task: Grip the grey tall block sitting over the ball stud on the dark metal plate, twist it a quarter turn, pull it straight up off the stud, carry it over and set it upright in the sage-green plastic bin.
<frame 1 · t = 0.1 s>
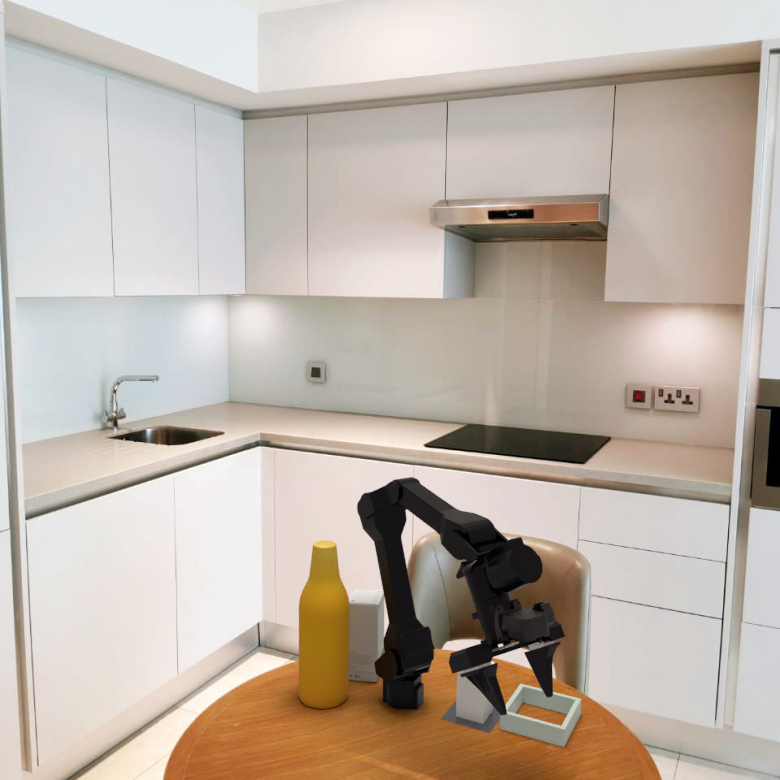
hand: (527, 705, 114), 15 cm above the table, tool tilted 35°, fingers open, 9 cm apart
bin: (540, 727, 135), on the table
skincare box: (364, 672, 154), on the table
beer bottle: (323, 697, 144), on the table
grey tall block: (474, 713, 138), point 1 cm above the table, touching stud plate
stud plate: (474, 718, 138), on the table
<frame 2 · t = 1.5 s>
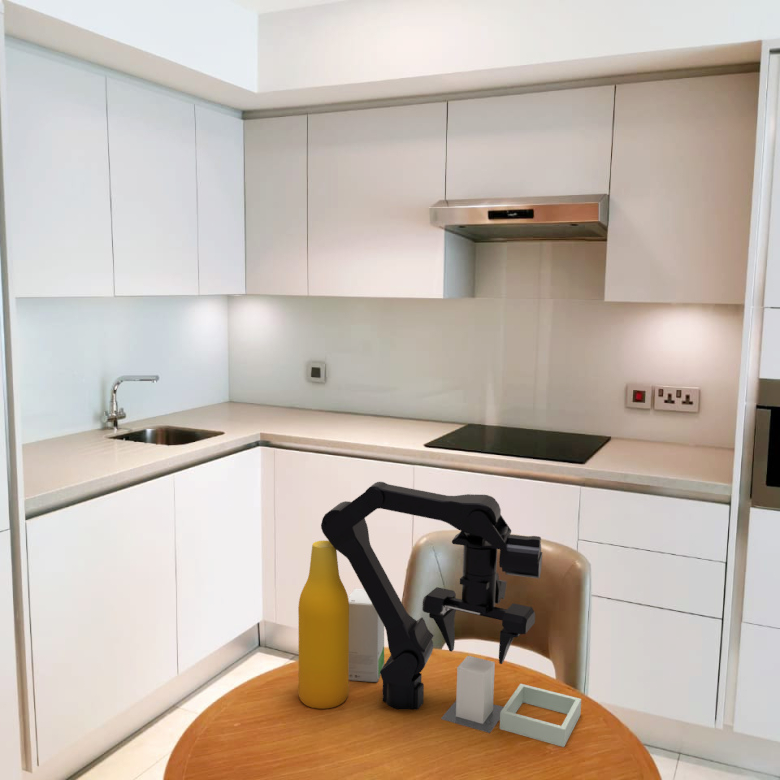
hand: (476, 656, 136), 11 cm above the table, tool pointing down, fingers open, 9 cm apart
beer bottle: (323, 697, 144), on the table, touching arm
everything else where it was.
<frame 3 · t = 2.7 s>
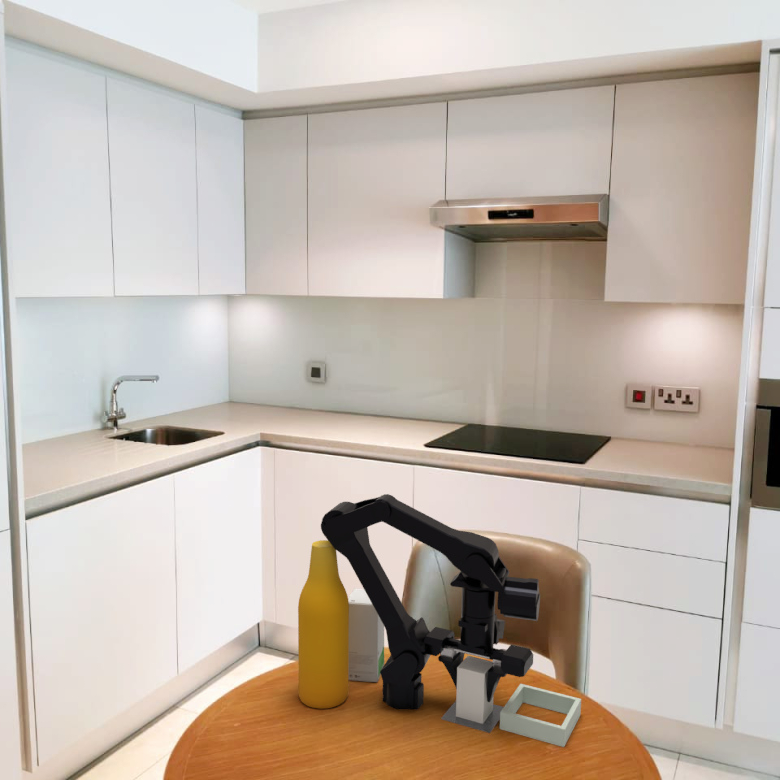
hand: (475, 697, 137), 4 cm above the table, tool pointing down, fingers closed on grey tall block, 5 cm apart
grey tall block: (474, 713, 138), point 1 cm above the table, touching gripper, stud plate
everything else where it was.
when the fingers open (5 cm above the table, at t = 9.1 s): grey tall block drops 1 cm, resting on bin.
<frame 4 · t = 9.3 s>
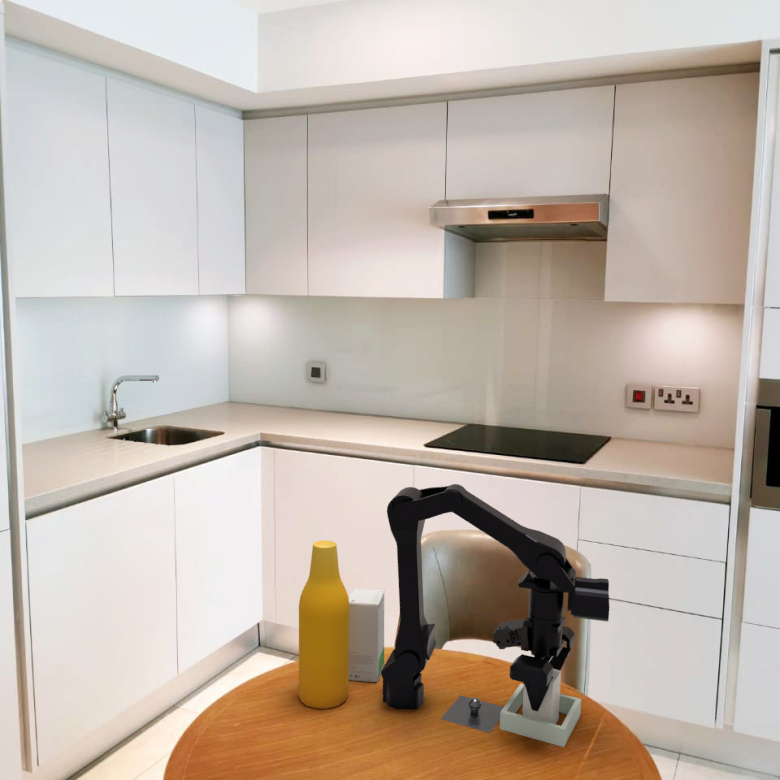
hand: (541, 699, 135), 5 cm above the table, tool pointing down, fingers open, 7 cm apart
beer bottle: (323, 697, 144), on the table
grey tall block: (540, 722, 135), point 1 cm above the table, touching bin
everything else where it was.
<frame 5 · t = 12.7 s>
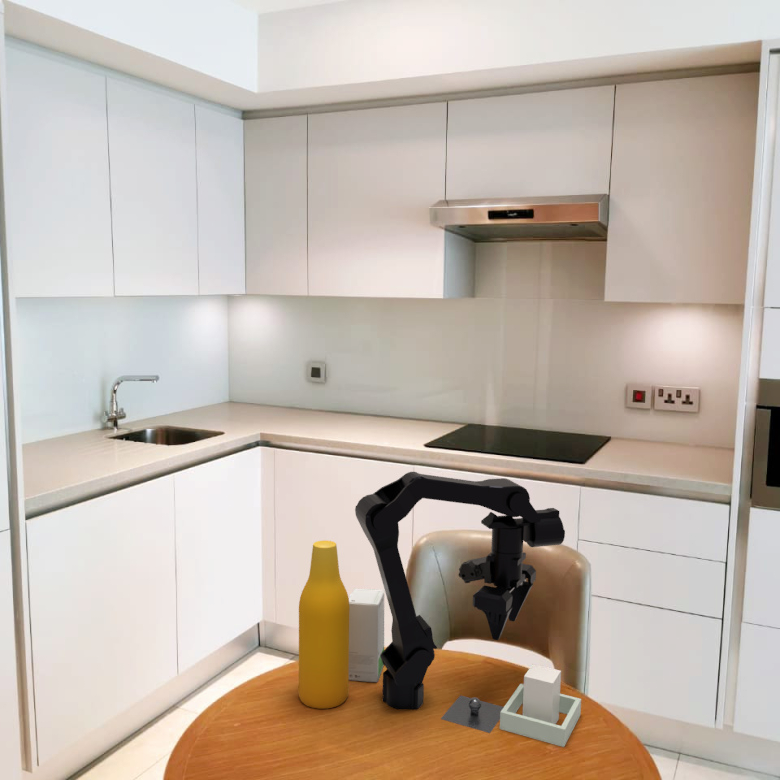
hand: (504, 629, 146), 12 cm above the table, tool pointing down, fingers open, 9 cm apart
nothing on the table moved.
at the end: grey tall block inside the target area on the bin (0.0 cm from its centre), point 0.8 cm above the bin's base; grey tall block tilted 0°; the gripper is holding nothing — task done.
